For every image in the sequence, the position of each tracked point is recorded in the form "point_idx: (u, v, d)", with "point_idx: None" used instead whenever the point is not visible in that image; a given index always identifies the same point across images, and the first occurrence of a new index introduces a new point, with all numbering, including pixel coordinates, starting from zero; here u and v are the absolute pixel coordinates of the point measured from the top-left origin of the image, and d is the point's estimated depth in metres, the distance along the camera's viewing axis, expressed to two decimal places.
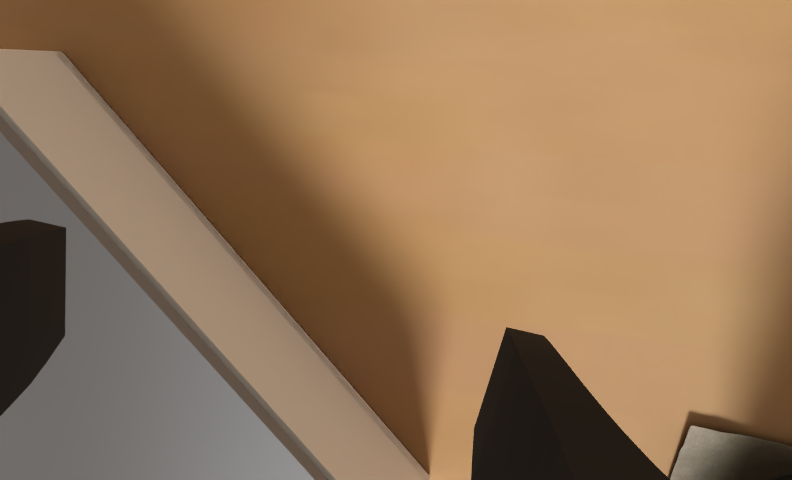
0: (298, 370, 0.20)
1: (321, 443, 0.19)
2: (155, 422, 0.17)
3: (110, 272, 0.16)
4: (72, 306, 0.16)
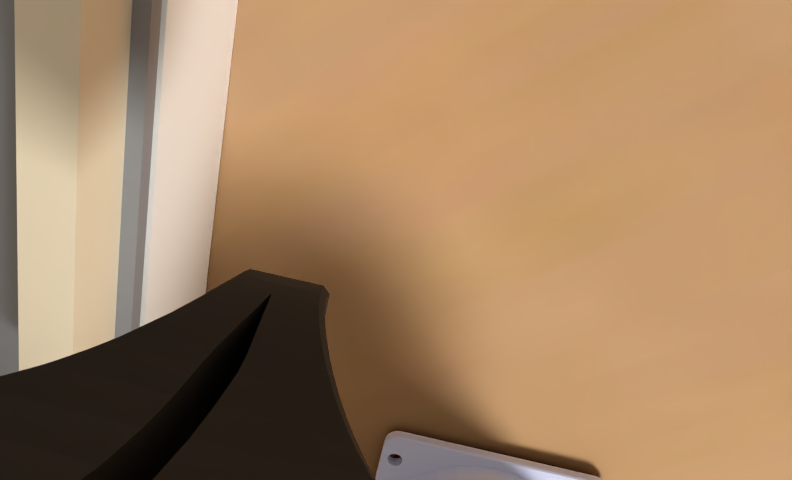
0: None
1: None
2: None
3: None
4: None
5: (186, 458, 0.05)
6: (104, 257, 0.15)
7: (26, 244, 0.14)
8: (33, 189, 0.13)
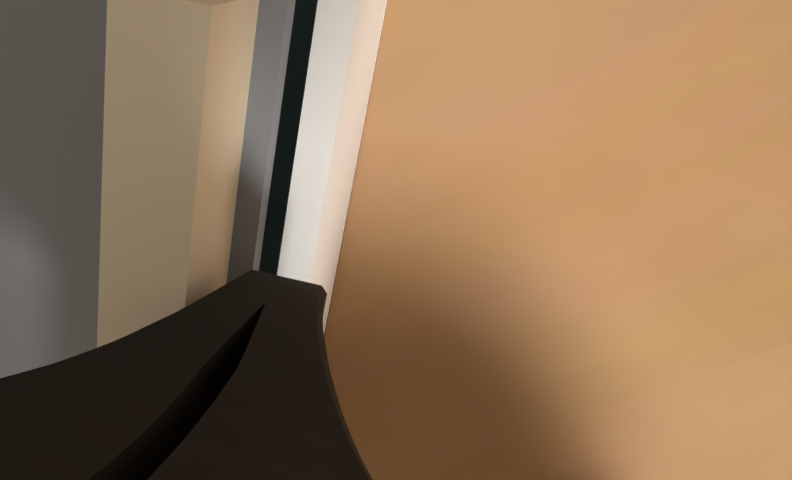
0: None
1: None
2: None
3: None
4: None
5: (182, 457, 0.05)
6: None
7: None
8: (122, 323, 0.09)
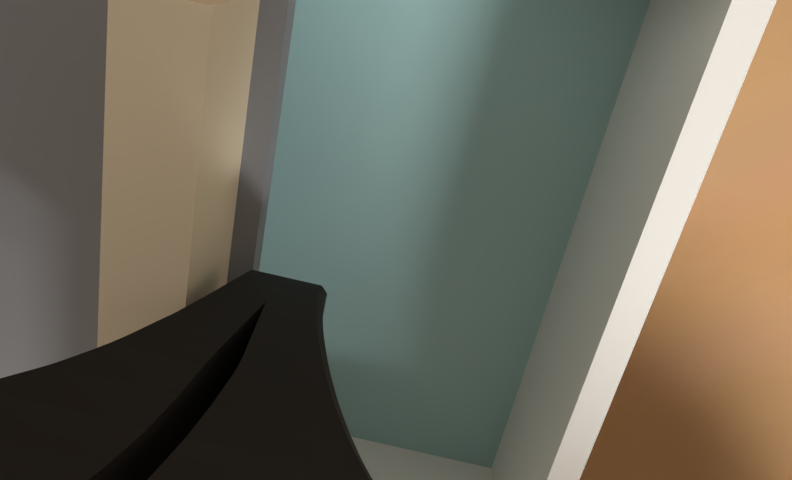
0: None
1: None
2: None
3: None
4: None
5: (182, 457, 0.05)
6: None
7: None
8: (123, 323, 0.09)
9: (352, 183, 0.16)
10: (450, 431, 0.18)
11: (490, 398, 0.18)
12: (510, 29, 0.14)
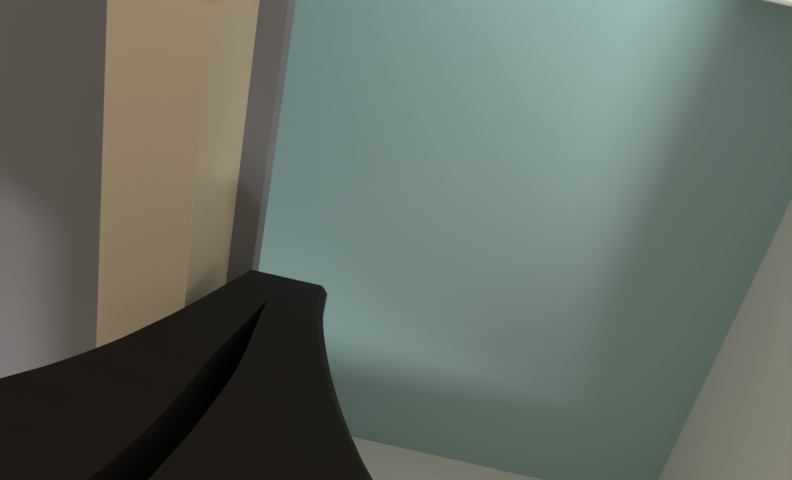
0: None
1: None
2: None
3: None
4: None
5: (183, 457, 0.05)
6: None
7: None
8: (121, 322, 0.09)
9: (537, 224, 0.16)
10: (609, 467, 0.18)
11: (654, 435, 0.18)
12: (716, 76, 0.14)
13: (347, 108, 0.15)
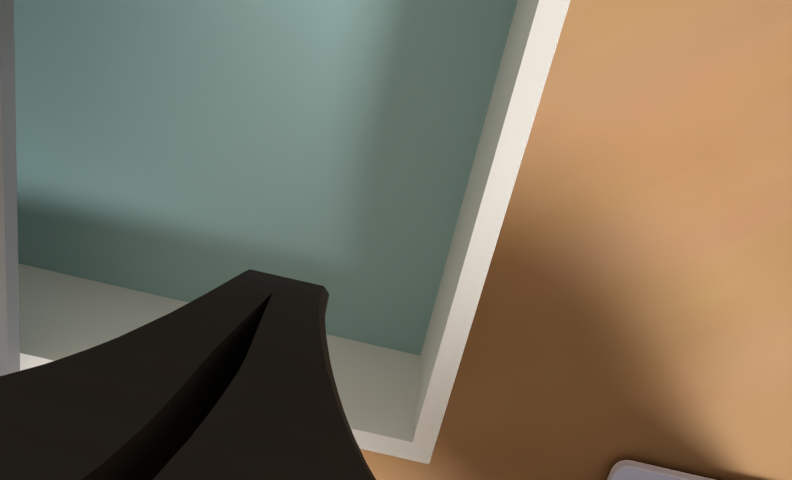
0: None
1: None
2: None
3: None
4: None
5: (186, 459, 0.05)
6: None
7: None
8: None
9: (297, 104, 0.19)
10: (384, 322, 0.22)
11: (417, 292, 0.21)
12: None
13: (133, 4, 0.18)
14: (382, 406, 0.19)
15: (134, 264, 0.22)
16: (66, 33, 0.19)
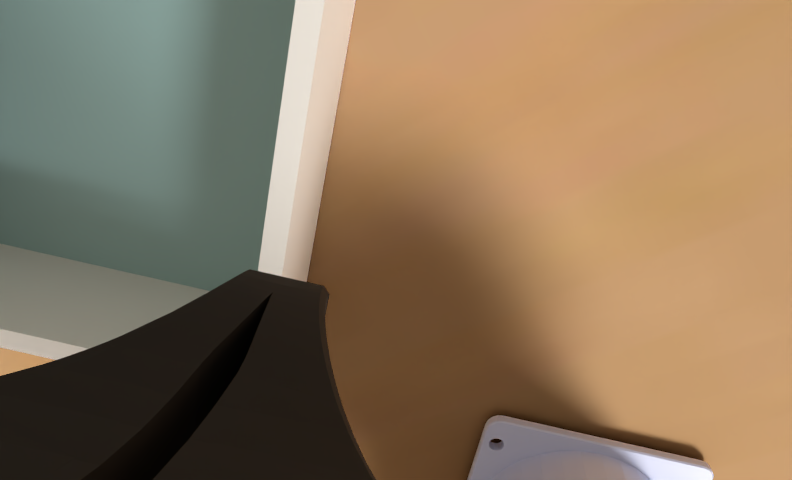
0: None
1: None
2: None
3: None
4: None
5: (186, 458, 0.05)
6: None
7: None
8: None
9: (133, 46, 0.19)
10: None
11: None
12: None
13: None
14: None
15: None
16: None
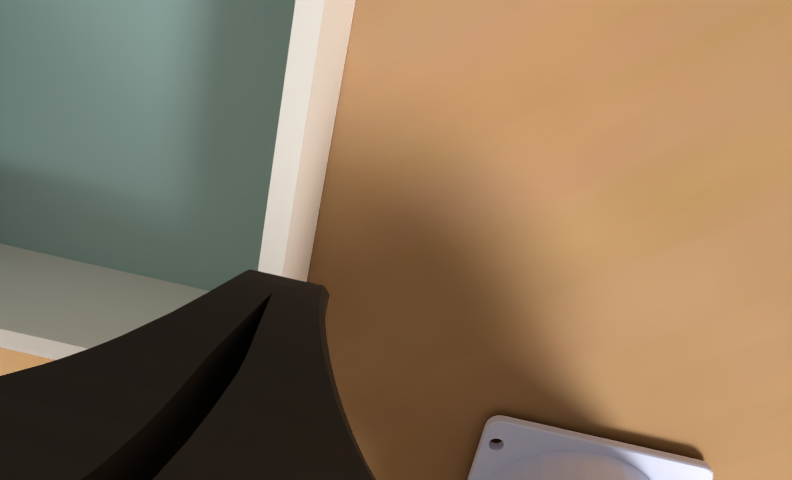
0: None
1: None
2: None
3: None
4: None
5: (186, 458, 0.05)
6: None
7: None
8: None
9: (133, 46, 0.19)
10: None
11: None
12: None
13: None
14: None
15: None
16: None
